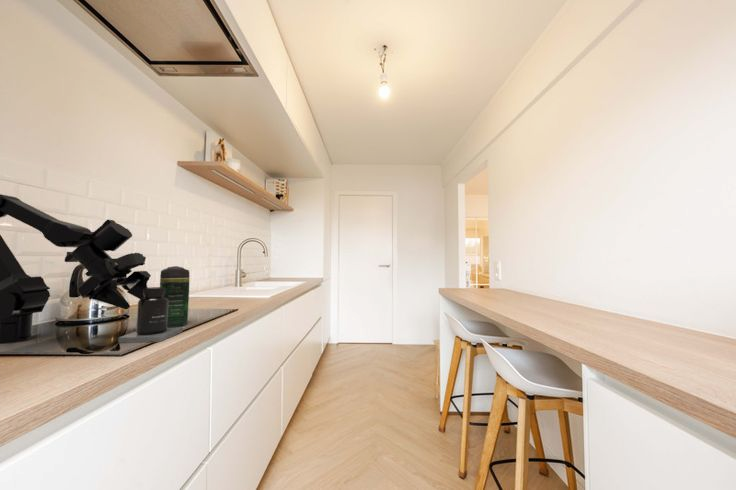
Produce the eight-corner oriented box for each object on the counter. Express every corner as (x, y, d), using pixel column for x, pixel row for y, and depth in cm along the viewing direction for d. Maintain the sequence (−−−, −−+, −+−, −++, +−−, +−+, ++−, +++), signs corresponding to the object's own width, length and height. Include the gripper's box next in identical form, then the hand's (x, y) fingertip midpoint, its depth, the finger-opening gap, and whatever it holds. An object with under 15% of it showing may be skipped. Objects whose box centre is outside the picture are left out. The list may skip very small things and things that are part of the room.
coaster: (146, 332, 83) (146, 327, 83) (182, 331, 83) (182, 327, 83) (118, 342, 73) (118, 337, 73) (159, 342, 73) (159, 337, 73)
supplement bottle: (157, 335, 75) (159, 288, 76) (129, 335, 75) (131, 288, 75) (173, 328, 82) (174, 286, 83) (147, 329, 81) (149, 286, 82)
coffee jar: (189, 325, 91) (191, 266, 91) (158, 329, 86) (160, 266, 87) (186, 320, 98) (188, 265, 99) (157, 323, 94) (160, 265, 94)
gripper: (94, 240, 69) (141, 287, 70) (145, 244, 88) (182, 281, 88) (55, 273, 68) (103, 320, 68) (115, 269, 86) (153, 307, 87)
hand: (140, 305), depth 78 cm, fingers open, 9 cm apart
